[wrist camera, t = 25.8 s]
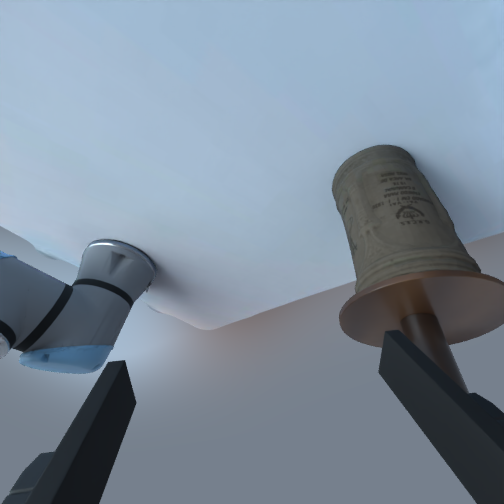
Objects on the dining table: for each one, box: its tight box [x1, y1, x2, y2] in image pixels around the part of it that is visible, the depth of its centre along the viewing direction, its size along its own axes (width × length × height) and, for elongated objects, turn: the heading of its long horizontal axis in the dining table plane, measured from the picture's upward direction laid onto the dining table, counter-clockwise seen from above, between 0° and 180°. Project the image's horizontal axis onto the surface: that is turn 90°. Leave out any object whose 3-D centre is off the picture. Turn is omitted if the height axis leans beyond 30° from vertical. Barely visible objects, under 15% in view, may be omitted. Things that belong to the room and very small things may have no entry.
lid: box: [339, 270, 504, 394], centre depth 21 cm, size 14×14×8 cm
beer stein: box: [332, 145, 481, 293], centre depth 30 cm, size 15×11×20 cm
